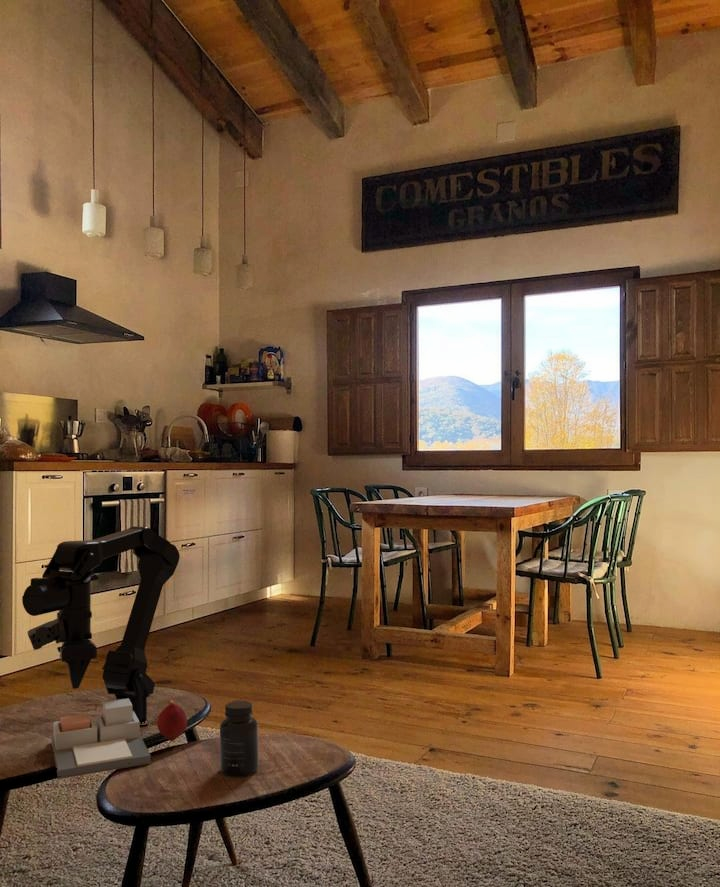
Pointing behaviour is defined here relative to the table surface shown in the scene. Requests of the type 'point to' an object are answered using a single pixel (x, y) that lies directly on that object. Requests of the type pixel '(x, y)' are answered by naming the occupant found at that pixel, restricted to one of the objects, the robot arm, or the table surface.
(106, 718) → the block
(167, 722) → the onion
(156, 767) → the table surface
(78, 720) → the reddish-brown block
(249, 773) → the supplement bottle
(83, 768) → the board
